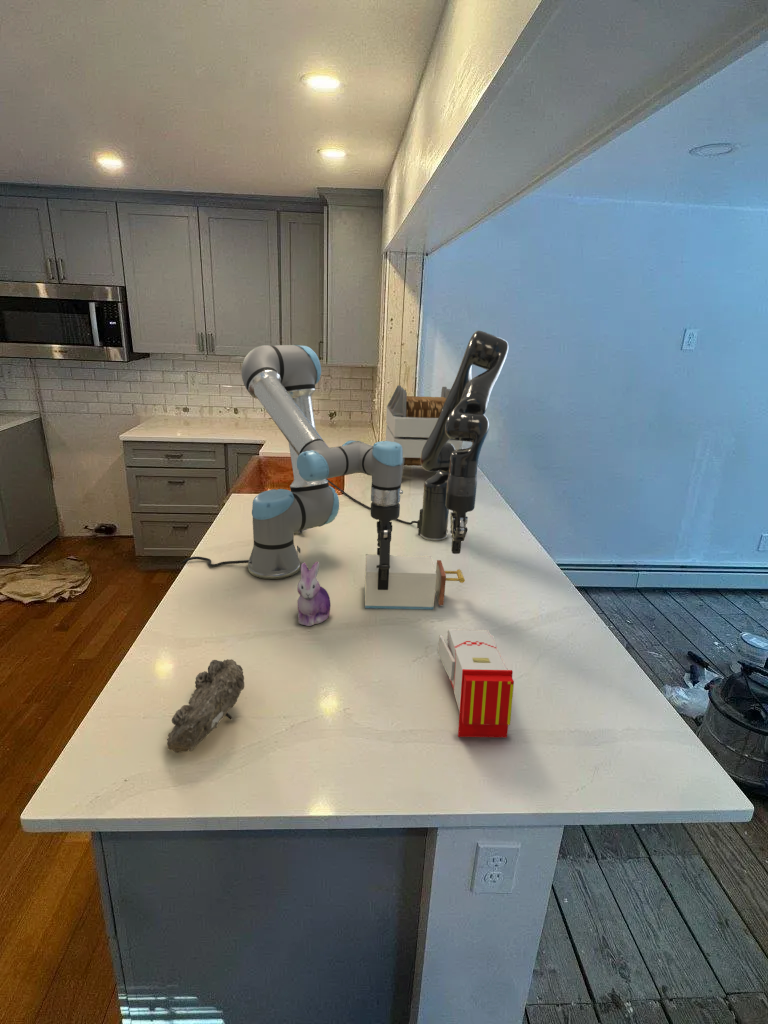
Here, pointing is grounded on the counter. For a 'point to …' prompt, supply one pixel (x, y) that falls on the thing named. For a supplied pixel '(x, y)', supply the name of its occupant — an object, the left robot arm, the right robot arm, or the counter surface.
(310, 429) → the left robot arm
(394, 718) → the counter surface
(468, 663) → the toy
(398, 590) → the cabinet
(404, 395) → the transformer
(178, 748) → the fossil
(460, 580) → the drawer
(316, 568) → the figurine
